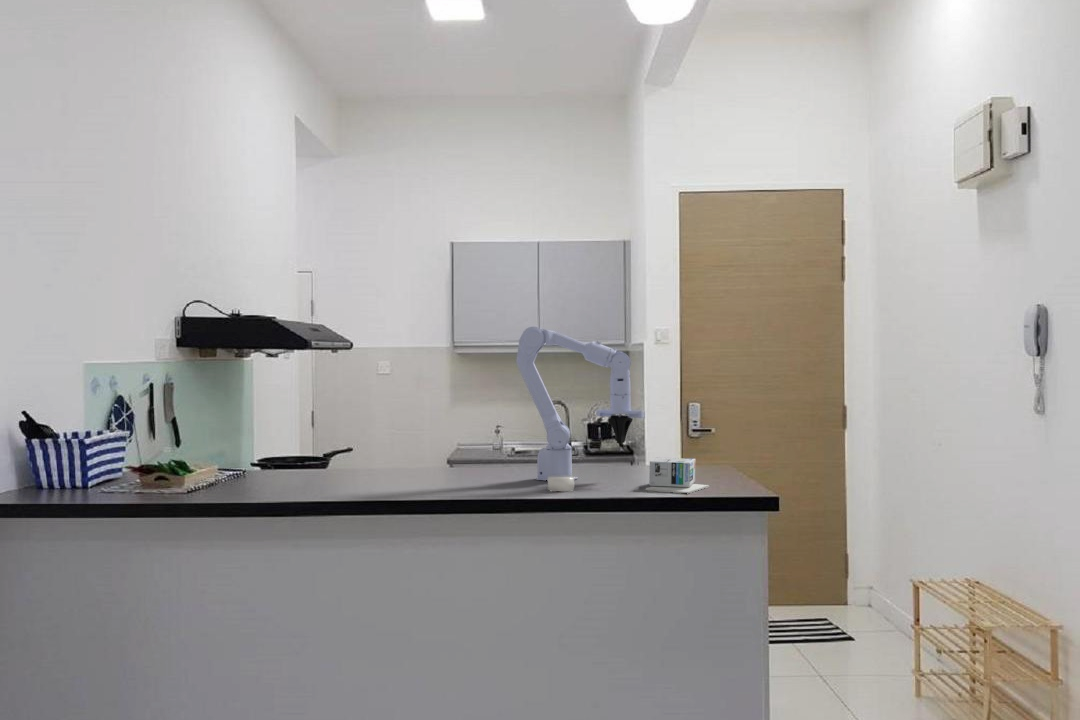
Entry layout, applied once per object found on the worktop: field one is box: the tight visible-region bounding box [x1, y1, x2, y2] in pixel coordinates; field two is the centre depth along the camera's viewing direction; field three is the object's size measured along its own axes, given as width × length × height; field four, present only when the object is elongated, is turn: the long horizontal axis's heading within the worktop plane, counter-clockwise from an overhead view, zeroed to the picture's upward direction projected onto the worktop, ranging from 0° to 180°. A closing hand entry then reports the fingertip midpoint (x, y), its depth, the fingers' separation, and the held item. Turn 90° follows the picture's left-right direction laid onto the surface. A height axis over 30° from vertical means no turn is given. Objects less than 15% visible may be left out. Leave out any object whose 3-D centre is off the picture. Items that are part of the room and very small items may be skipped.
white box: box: [645, 483, 710, 495], centre depth 231 cm, size 12×13×1 cm
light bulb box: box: [648, 457, 697, 488], centre depth 235 cm, size 11×7×11 cm
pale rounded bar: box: [547, 475, 575, 492], centre depth 232 cm, size 7×7×4 cm
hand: (620, 442), depth 248 cm, fingers closed
